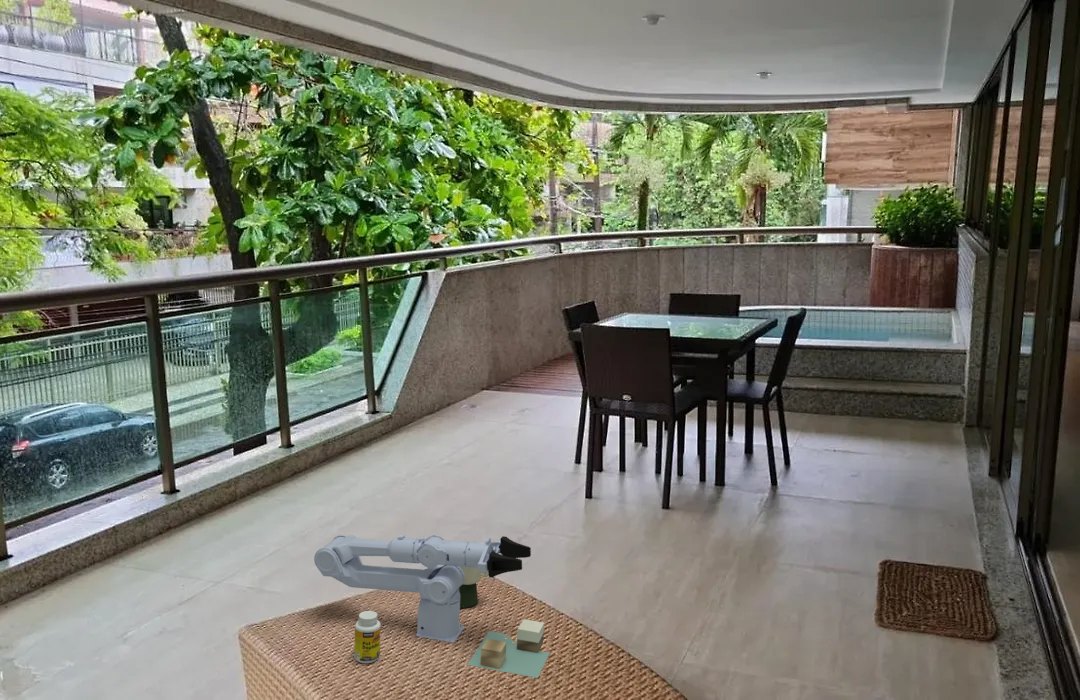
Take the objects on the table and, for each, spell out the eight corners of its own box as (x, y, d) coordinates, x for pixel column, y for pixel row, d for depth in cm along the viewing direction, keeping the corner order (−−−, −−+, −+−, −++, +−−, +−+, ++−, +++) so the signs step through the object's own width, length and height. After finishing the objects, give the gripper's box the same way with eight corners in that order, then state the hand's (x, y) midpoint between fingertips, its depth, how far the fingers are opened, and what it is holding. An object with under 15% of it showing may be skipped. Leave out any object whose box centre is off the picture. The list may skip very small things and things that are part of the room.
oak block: (480, 665, 185) (481, 648, 185) (486, 655, 190) (487, 638, 189) (499, 668, 184) (500, 651, 184) (505, 658, 189) (506, 642, 188)
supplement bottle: (359, 667, 183) (360, 622, 181) (350, 655, 187) (351, 612, 186) (383, 660, 186) (385, 617, 184) (374, 649, 190) (375, 606, 189)
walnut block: (516, 649, 193) (517, 639, 193) (522, 639, 198) (522, 629, 197) (537, 653, 192) (538, 642, 191) (543, 642, 197) (543, 632, 196)
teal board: (467, 666, 185) (467, 664, 185) (489, 632, 201) (489, 631, 201) (537, 679, 182) (537, 677, 182) (554, 644, 197) (554, 642, 197)
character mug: (489, 600, 217) (491, 552, 215) (483, 613, 210) (486, 563, 208) (448, 595, 219) (449, 548, 217) (441, 608, 212) (443, 559, 210)
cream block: (517, 639, 193) (517, 629, 192) (522, 629, 197) (523, 619, 197) (538, 642, 191) (539, 632, 191) (543, 632, 196) (544, 622, 196)
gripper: (457, 549, 187) (516, 553, 184) (478, 526, 201) (533, 530, 198) (459, 579, 188) (518, 584, 185) (479, 555, 202) (534, 559, 199)
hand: (526, 558), depth 191 cm, fingers open, 7 cm apart
